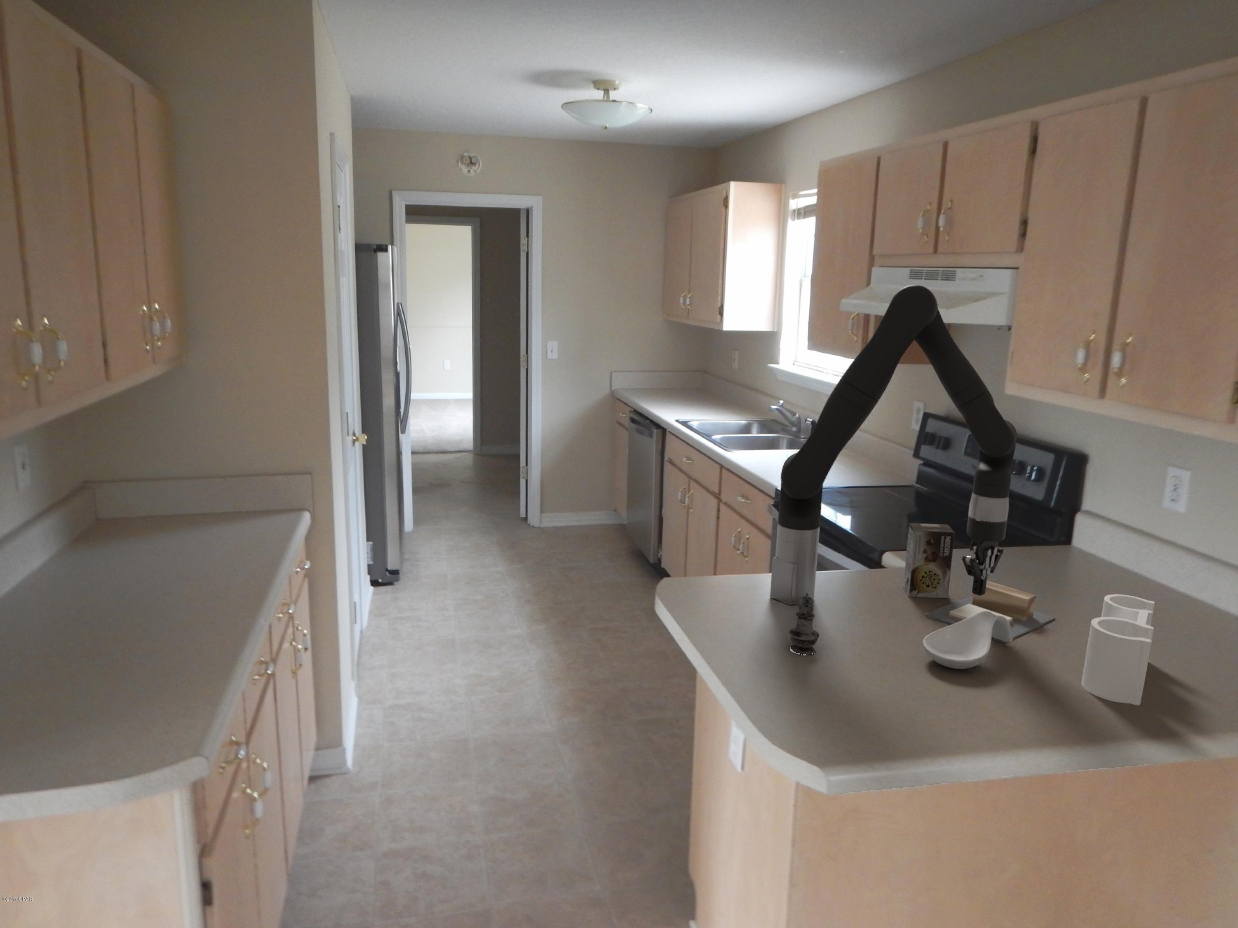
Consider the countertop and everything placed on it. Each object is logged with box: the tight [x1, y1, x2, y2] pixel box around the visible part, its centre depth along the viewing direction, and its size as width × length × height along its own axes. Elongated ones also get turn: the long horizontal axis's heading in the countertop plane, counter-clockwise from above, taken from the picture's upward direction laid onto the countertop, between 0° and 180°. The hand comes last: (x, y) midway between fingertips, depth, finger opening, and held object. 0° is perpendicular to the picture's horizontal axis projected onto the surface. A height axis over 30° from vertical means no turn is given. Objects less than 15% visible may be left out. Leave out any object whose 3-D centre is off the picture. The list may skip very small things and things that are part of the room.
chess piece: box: [788, 593, 820, 656], centre depth 173 cm, size 6×6×12 cm
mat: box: [924, 595, 1056, 644], centre depth 194 cm, size 22×18×1 cm
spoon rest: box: [922, 611, 1013, 670], centre depth 173 cm, size 24×12×7 cm, turn 130°
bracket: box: [1081, 593, 1155, 706], centre depth 166 cm, size 25×10×12 cm, turn 146°
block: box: [972, 580, 1037, 621], centre depth 196 cm, size 4×12×5 cm, turn 39°
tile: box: [949, 604, 1013, 624], centre depth 191 cm, size 4×10×8 cm
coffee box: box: [902, 522, 955, 599], centre depth 206 cm, size 9×6×16 cm
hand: (978, 593), depth 188 cm, fingers closed
